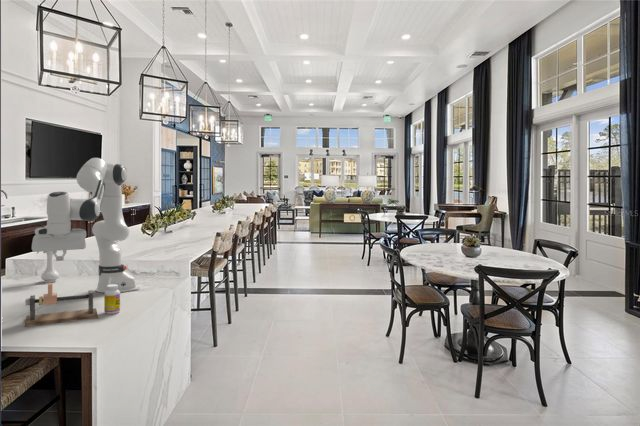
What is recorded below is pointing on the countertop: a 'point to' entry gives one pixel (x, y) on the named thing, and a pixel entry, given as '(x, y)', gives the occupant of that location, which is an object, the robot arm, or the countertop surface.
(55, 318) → the towel rod holder
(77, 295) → the dark gray rod
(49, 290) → the peach stepped block
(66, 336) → the countertop surface
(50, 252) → the flower vase
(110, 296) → the supplement bottle
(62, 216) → the robot arm
